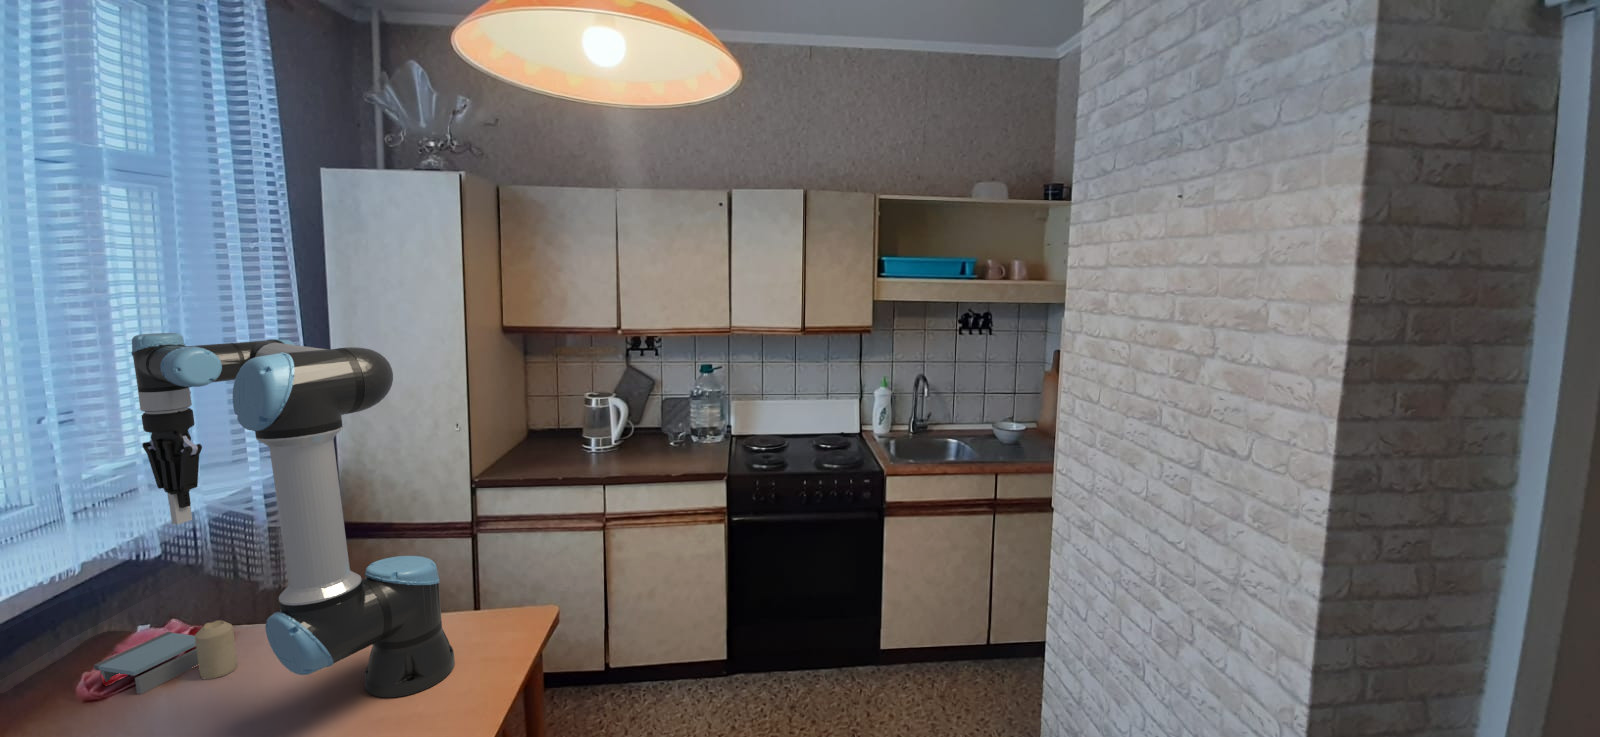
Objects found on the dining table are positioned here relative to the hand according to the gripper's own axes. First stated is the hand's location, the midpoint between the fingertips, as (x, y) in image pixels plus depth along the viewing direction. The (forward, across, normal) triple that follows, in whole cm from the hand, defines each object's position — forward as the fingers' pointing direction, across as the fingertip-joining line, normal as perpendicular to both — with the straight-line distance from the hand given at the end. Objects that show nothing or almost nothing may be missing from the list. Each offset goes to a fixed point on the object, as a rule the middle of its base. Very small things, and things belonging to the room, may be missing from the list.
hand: (182, 521), depth 135 cm
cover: (+23, -4, +10) cm, 26 cm away
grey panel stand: (+26, -5, +10) cm, 29 cm away
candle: (+27, -16, +7) cm, 32 cm away
